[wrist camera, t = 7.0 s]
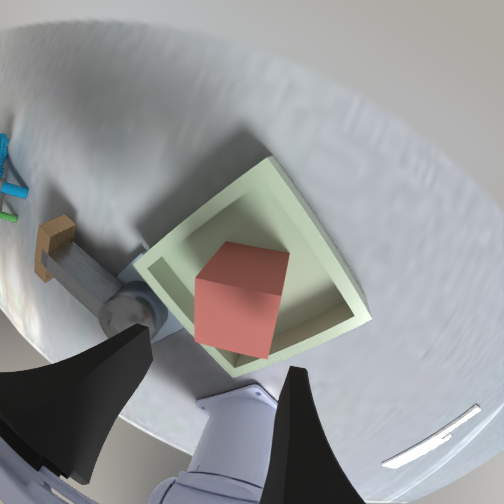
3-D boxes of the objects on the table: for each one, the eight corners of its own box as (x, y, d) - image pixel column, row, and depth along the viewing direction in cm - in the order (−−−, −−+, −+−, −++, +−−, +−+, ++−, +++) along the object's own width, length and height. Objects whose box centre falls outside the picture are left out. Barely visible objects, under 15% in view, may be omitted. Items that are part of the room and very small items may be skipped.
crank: (178, 301, 19) (157, 328, 16) (156, 338, 22) (137, 363, 19) (67, 213, 19) (38, 225, 16) (58, 256, 21) (34, 271, 18)
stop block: (290, 253, 17) (281, 296, 12) (279, 308, 18) (267, 359, 14) (225, 241, 17) (194, 277, 13) (221, 295, 19) (194, 341, 14)
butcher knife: (486, 410, 20) (489, 416, 19) (400, 464, 26) (400, 470, 25) (474, 402, 19) (477, 409, 18) (380, 460, 26) (381, 466, 25)
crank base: (199, 316, 20) (196, 320, 20) (132, 351, 24) (129, 355, 24) (145, 249, 19) (141, 252, 19) (90, 301, 23) (86, 304, 22)
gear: (6, 113, 16) (-37, 180, 11) (50, 127, 20) (20, 197, 15) (-7, 186, 21) (-31, 255, 16) (30, 197, 25) (12, 266, 21)
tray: (366, 297, 17) (372, 319, 15) (240, 356, 21) (233, 378, 19) (273, 155, 15) (266, 157, 13) (151, 250, 19) (132, 264, 17)
